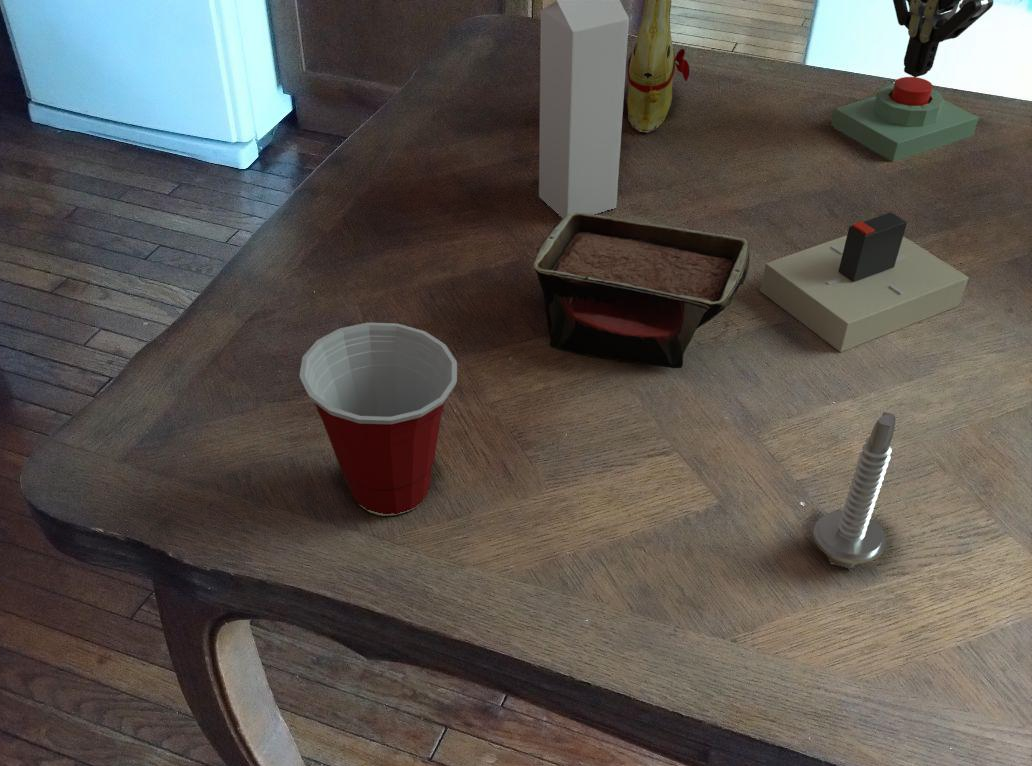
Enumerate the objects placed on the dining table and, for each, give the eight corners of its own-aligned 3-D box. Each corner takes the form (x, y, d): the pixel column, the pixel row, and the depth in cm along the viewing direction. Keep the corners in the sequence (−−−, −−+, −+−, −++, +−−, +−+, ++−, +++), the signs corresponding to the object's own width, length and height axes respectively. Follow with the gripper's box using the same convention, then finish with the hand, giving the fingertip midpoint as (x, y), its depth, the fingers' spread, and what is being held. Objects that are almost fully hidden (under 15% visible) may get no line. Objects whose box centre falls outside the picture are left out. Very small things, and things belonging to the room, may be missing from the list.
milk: (538, 198, 111) (538, -28, 96) (588, 184, 113) (596, -40, 97) (567, 224, 108) (572, -7, 92) (618, 209, 109) (632, -20, 94)
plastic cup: (448, 550, 76) (439, 422, 68) (305, 534, 78) (278, 406, 69) (476, 451, 84) (471, 324, 75) (344, 438, 85) (324, 312, 77)
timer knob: (878, 257, 97) (891, 209, 93) (894, 267, 95) (908, 219, 92) (837, 271, 95) (849, 223, 92) (853, 282, 94) (865, 234, 90)
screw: (865, 528, 77) (888, 578, 74) (800, 533, 77) (819, 583, 74) (912, 386, 68) (941, 436, 64) (838, 391, 67) (862, 441, 64)
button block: (909, 103, 125) (918, 68, 122) (973, 136, 119) (984, 101, 116) (830, 127, 121) (837, 92, 118) (892, 162, 115) (901, 126, 112)
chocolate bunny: (619, 138, 120) (628, -2, 110) (630, 97, 128) (640, -38, 117) (679, 143, 119) (695, 2, 108) (687, 101, 127) (703, -35, 116)
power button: (910, 89, 119) (914, 73, 118) (936, 102, 117) (940, 86, 116) (883, 97, 118) (887, 81, 117) (908, 111, 116) (913, 95, 114)
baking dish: (586, 281, 104) (572, 188, 97) (767, 299, 96) (766, 199, 89) (526, 373, 96) (505, 279, 89) (718, 400, 88) (713, 299, 81)
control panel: (874, 250, 103) (882, 221, 101) (959, 306, 96) (970, 275, 94) (759, 291, 99) (765, 261, 96) (840, 352, 92) (848, 322, 89)
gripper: (886, -118, 106) (847, 59, 118) (987, -82, 98) (934, 104, 110) (941, -129, 108) (897, 45, 121) (1045, -96, 100) (987, 88, 112)
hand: (915, 73), depth 115 cm, fingers closed
